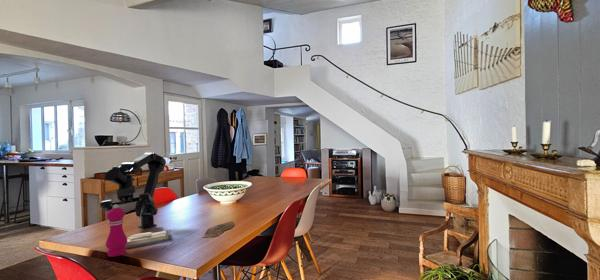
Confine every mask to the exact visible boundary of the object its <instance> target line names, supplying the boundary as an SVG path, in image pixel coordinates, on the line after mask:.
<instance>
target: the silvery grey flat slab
mask: <svg viewBox="0 0 600 280" xmlns="http://www.w3.org/2000/svg"><path fill="white" fill-rule="evenodd" d="M166 236H167V239H163V240H157V241H152V242H146V243H141V244H135V245H129V246H125V247H126V249H129V248H130V249H131V248H135V247H139V246H140V247H141V246H147V245H151V244H156V243H162V242H168V241H171V240H172V233H171V229H167V232H166Z"/></svg>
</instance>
